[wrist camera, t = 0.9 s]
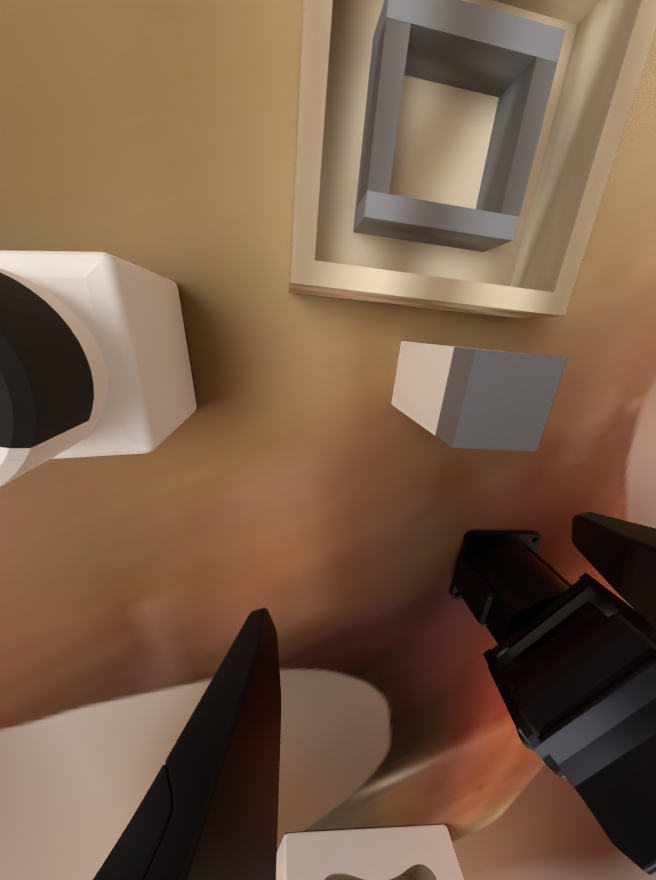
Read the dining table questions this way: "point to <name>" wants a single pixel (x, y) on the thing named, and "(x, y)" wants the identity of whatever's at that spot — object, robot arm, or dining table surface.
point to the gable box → (369, 854)
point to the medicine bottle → (87, 358)
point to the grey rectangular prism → (477, 394)
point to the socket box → (458, 147)
